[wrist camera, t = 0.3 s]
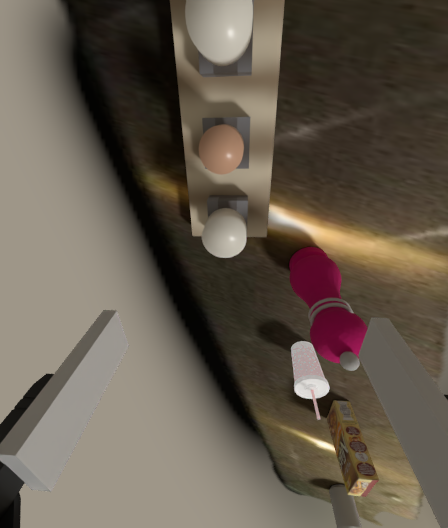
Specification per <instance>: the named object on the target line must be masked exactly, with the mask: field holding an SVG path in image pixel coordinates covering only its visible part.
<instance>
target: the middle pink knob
mask: <svg viewBox="0 0 448 528" xmlns="http://www.w3.org/2000/svg"><path fill="white" fill-rule="evenodd" d="M243 151H244V141H243V138H242V135H241V134H240V132H239V131H238V130H237V129H236V128H235V127H233V126H231V125H227V124H222V125H217V126H213V127H211V128H210V129H208V130H207V131H206V132H205V133H204V134H203V136H202V138H201V140H200V143H199V156H200V159H201V161H202V163H203V165H204V166H205V167H206V168H207V169H208V170H209V171H211V172H213V173H215V174H221V175H222V174H228V173H230V172H232V171H233V170H235V169H236V168H237V167H238V166H239V164H240V162H241V160H242V157H243Z"/></svg>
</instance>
